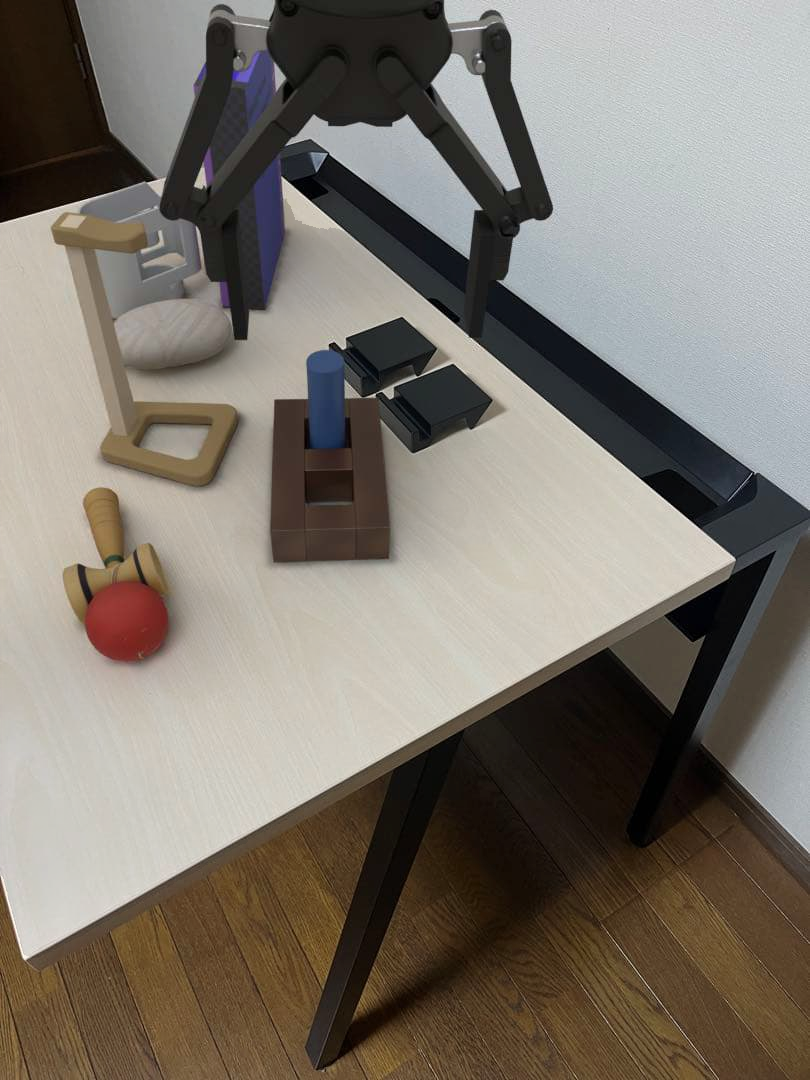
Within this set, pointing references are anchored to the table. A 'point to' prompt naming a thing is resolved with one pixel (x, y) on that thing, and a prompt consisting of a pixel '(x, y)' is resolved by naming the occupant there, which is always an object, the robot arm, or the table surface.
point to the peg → (326, 399)
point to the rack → (328, 487)
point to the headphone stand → (123, 412)
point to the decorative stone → (171, 333)
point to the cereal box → (265, 198)
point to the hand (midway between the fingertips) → (358, 326)
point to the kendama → (118, 587)
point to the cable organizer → (125, 271)
